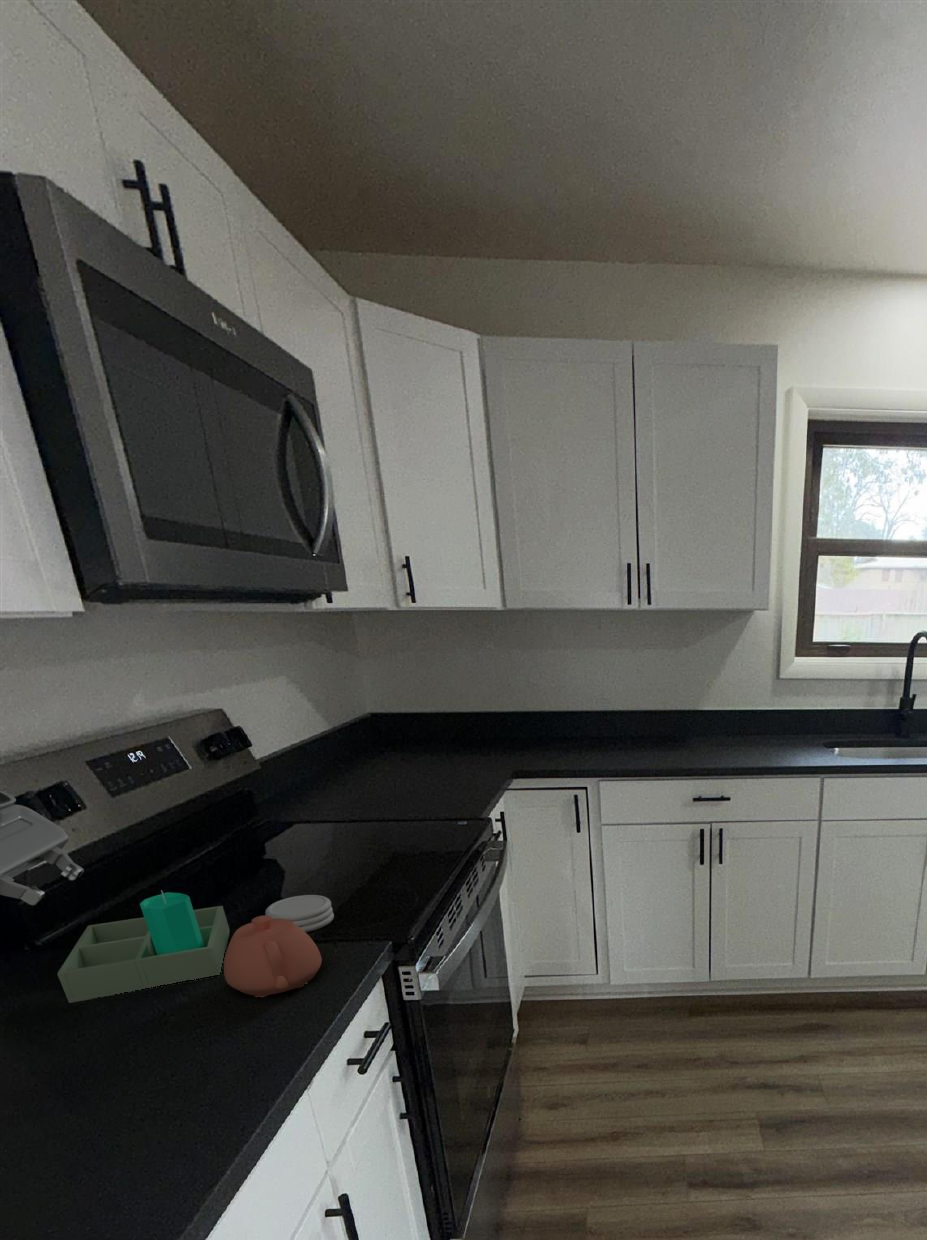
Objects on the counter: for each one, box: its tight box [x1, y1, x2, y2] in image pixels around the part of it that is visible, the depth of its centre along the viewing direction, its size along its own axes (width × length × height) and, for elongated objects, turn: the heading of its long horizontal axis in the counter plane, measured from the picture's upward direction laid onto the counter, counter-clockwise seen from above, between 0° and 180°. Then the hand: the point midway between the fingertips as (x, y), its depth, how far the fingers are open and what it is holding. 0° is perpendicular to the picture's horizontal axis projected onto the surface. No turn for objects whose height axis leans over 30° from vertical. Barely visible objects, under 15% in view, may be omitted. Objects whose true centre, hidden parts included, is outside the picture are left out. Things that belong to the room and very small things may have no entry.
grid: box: [56, 905, 231, 1004], centre depth 113 cm, size 18×18×5 cm
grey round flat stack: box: [265, 894, 335, 933], centre depth 127 cm, size 10×10×4 cm
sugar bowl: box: [223, 914, 323, 998], centre depth 105 cm, size 12×14×10 cm
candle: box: [139, 889, 205, 955], centre depth 109 cm, size 6×6×12 cm
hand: (60, 887), depth 105 cm, fingers open, 8 cm apart
